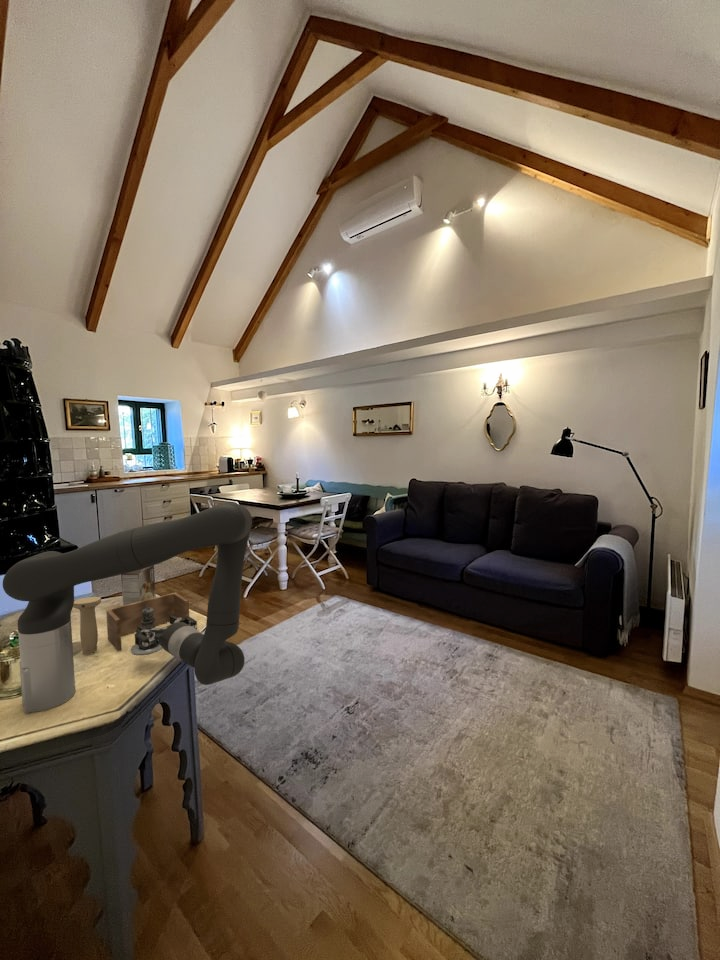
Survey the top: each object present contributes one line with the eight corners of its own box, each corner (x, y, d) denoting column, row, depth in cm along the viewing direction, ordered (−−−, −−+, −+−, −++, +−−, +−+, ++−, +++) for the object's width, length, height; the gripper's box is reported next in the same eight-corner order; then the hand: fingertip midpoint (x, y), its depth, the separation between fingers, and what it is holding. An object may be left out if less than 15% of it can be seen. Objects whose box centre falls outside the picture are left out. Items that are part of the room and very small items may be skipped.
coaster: (136, 658, 106) (136, 657, 106) (126, 647, 112) (126, 645, 112) (171, 646, 112) (171, 645, 112) (160, 636, 118) (160, 635, 118)
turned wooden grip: (80, 649, 111) (77, 598, 109) (106, 646, 112) (103, 596, 111) (72, 658, 106) (69, 604, 105) (99, 655, 107) (96, 602, 106)
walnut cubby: (117, 651, 109) (115, 620, 109) (107, 639, 117) (106, 609, 116) (189, 628, 124) (188, 600, 123) (177, 618, 131) (175, 592, 130)
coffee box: (139, 609, 139) (136, 565, 138) (156, 609, 139) (154, 564, 138) (123, 620, 130) (120, 573, 129) (142, 620, 130) (139, 573, 129)
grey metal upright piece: (133, 647, 111) (130, 606, 110) (152, 638, 116) (150, 599, 115) (146, 652, 108) (144, 610, 107) (165, 643, 113) (163, 602, 112)
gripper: (209, 617, 103) (179, 603, 113) (153, 637, 92) (126, 619, 102) (210, 645, 104) (180, 628, 114) (155, 668, 93) (127, 647, 103)
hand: (155, 624), depth 108 cm, fingers open, 8 cm apart
